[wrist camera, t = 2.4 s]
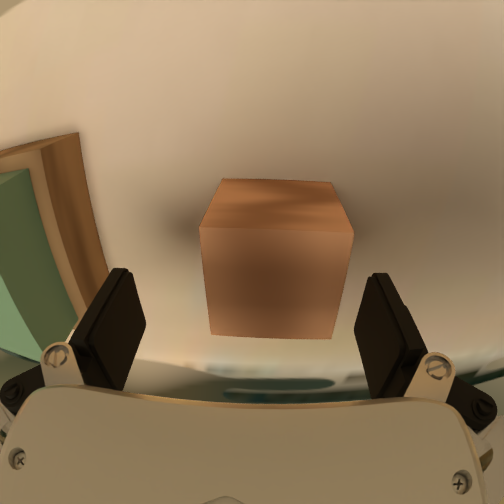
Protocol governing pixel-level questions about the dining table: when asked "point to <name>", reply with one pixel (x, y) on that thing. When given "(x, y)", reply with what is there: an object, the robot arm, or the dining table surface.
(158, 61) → the dining table surface
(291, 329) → the terracotta cube
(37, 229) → the tower top
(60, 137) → the tower base
